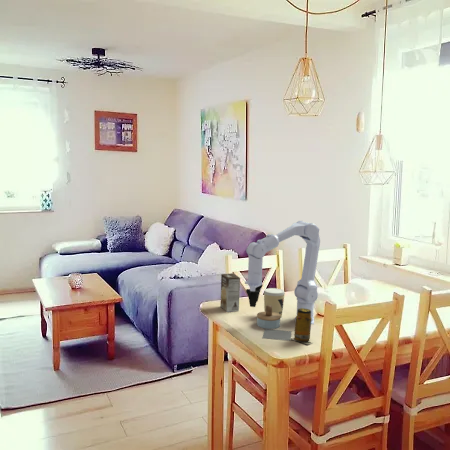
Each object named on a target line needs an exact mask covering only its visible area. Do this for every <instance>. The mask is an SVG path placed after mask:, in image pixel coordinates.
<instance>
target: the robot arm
mask: <svg viewBox="0 0 450 450" xmlns="http://www.w3.org/2000/svg"><path fill="white" fill-rule="evenodd" d="M294 236H298V237H300V238H302V239H303V241H304V242H305V243H306V247H305V253H304V261H303V266H302V274H301V279H299V280H298V281H297V283H296V286H295V288H294V291H293V292H294V296H295V297H296V301H297V302H296V314H297V313H298V309H300V308H304V309H309V310H311V318H312V319H311V325H314V324H315V318H314V305H315V303H316V301H317V300H318V298H319V297H318V296H319V295H318V286H317V284H316V282H315V278H316V270H317V264H318V258H319V251H320V245H321V238H320V228H319V227H318V225H317V224H316V223H313V222H307V221H303V220H298V221H297V222H293V223H292V224H291V225H290V226H289V227H287V228H285V229H283V230H281V231H280V232H278V233H276V234H272V233H267V234H266V236H265V237H264V238H261V239H257V241H256V242H255V241H252V242H250V243H249V244H248V246H247V248H245V252H246V254H247V255H248V265H247V267H248V269H247V270H248V272H247V280H245V281H244V284H246V285H247V286H249V288H246V289H245V292H246V294H247V297H248V301H249V306H250V307H251V308H256V305H257V303H258V302H259V301H258V300H259V298H260V297H259V296H260V293H261V289H262V287H263V286H264V285H263V282H262V281H263V262H264V261H263V258H264V257H265V255H266V253H268V252H270V251H271V250H273V249H275V248H277V247H279V245H280V243H281V242H283V241H286V240H287V239H290V238H292V237H294ZM295 321H296V317H295V319H294V323H296V322H295Z"/></svg>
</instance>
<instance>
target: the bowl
mask: <svg viewBox="0 0 450 450" xmlns="http://www.w3.org/2000/svg"><path fill="white" fill-rule="evenodd" d="M256 325H257V326H258V327H259V328H262V329H273V330H275V329H278V328H280V326H281V318H280V319H279V320H275V321H266V320H261V319H259V318H257V317H256Z"/></svg>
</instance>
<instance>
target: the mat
mask: <svg viewBox="0 0 450 450" xmlns="http://www.w3.org/2000/svg"><path fill="white" fill-rule="evenodd" d="M261 338H262V339H266V340H278V341H289V342H291V339H290V338H292V331H291V330H283V329H282V330H281V329H266V328H264V331H263V334H262V337H261Z"/></svg>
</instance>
